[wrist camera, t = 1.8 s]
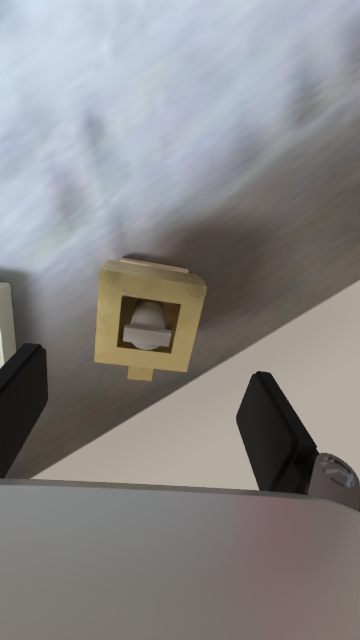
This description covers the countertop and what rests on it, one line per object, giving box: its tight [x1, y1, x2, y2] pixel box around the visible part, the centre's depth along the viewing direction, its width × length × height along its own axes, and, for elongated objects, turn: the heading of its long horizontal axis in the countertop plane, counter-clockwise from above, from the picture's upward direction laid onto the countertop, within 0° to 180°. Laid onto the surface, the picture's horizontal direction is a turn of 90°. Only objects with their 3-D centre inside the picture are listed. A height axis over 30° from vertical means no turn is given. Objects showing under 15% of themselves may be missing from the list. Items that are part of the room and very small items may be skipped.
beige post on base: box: [120, 258, 189, 350], centre depth 20 cm, size 6×6×9 cm
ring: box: [94, 260, 207, 381], centre depth 19 cm, size 7×9×3 cm
